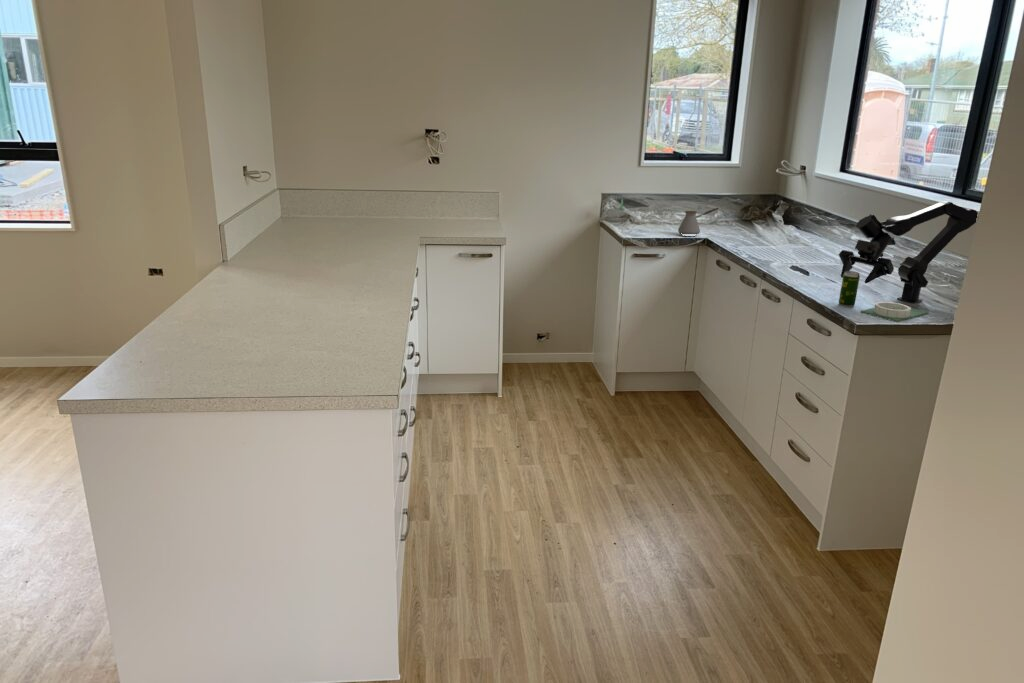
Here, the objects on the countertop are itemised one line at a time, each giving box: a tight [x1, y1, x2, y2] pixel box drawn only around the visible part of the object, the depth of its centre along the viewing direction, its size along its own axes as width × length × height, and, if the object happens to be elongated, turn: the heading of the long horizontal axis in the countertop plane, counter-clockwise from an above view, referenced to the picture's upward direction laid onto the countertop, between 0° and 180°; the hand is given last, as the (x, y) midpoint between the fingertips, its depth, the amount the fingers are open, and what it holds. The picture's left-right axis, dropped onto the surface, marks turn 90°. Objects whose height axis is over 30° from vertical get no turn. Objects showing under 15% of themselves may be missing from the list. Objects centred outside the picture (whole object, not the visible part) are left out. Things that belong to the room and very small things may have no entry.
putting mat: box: [860, 307, 929, 323], centre depth 253 cm, size 20×13×1 cm, turn 124°
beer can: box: [838, 270, 861, 308], centre depth 259 cm, size 5×5×12 cm
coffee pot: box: [677, 207, 720, 235], centre depth 386 cm, size 21×12×15 cm, turn 99°
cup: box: [873, 301, 912, 318], centre depth 251 cm, size 11×11×2 cm
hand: (853, 279), depth 259 cm, fingers open, 9 cm apart
